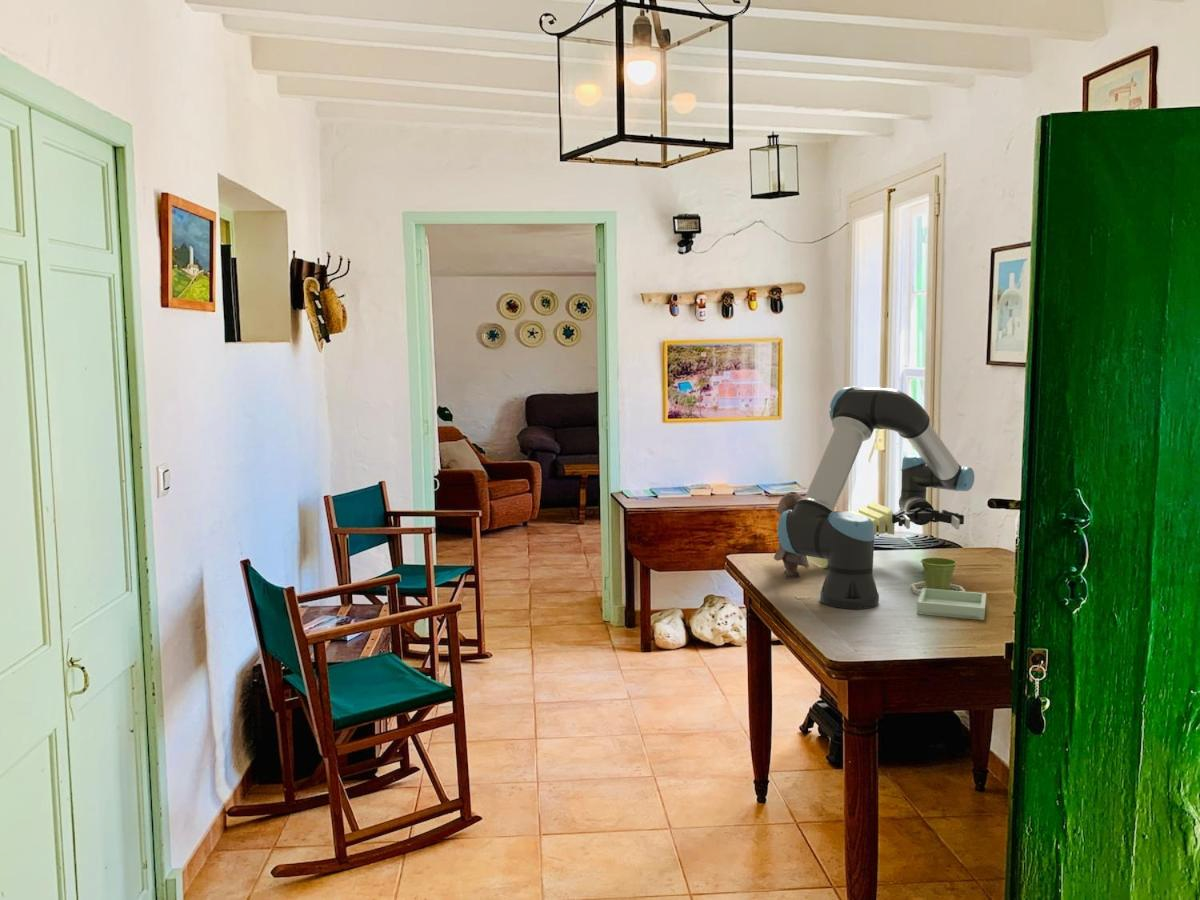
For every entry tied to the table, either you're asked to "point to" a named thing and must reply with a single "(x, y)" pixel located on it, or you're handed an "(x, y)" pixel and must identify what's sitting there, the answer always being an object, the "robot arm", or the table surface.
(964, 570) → the table surface
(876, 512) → the slatted curved stool
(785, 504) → the clay figurine
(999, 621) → the table surface
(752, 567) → the table surface
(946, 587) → the plant pot
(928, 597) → the tray
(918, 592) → the collar ring
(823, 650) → the table surface
